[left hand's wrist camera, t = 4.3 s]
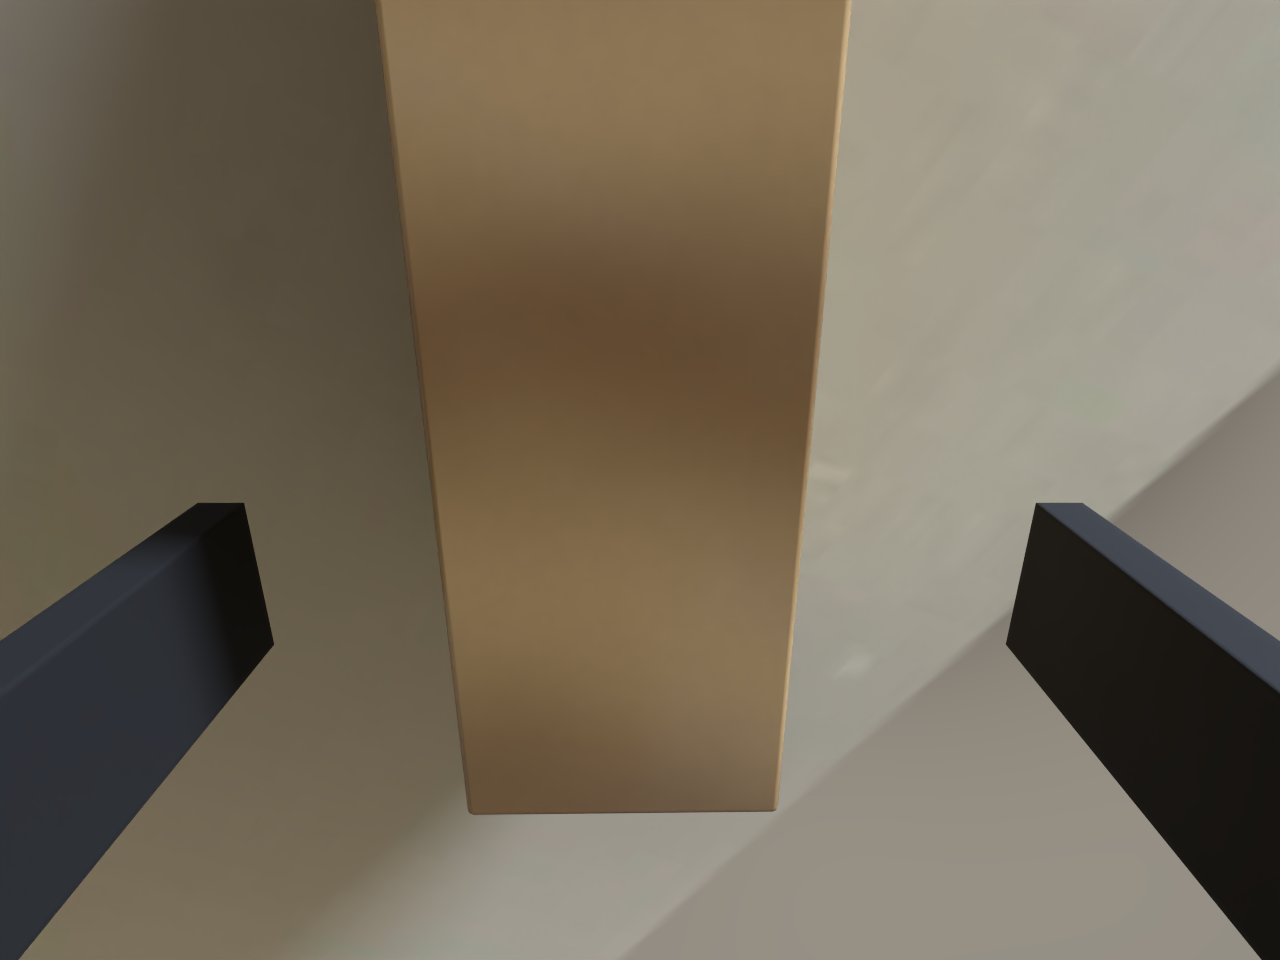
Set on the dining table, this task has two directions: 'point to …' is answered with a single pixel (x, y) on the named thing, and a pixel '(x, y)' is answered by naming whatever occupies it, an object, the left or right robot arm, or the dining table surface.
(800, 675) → the dining table surface
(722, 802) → the bar
